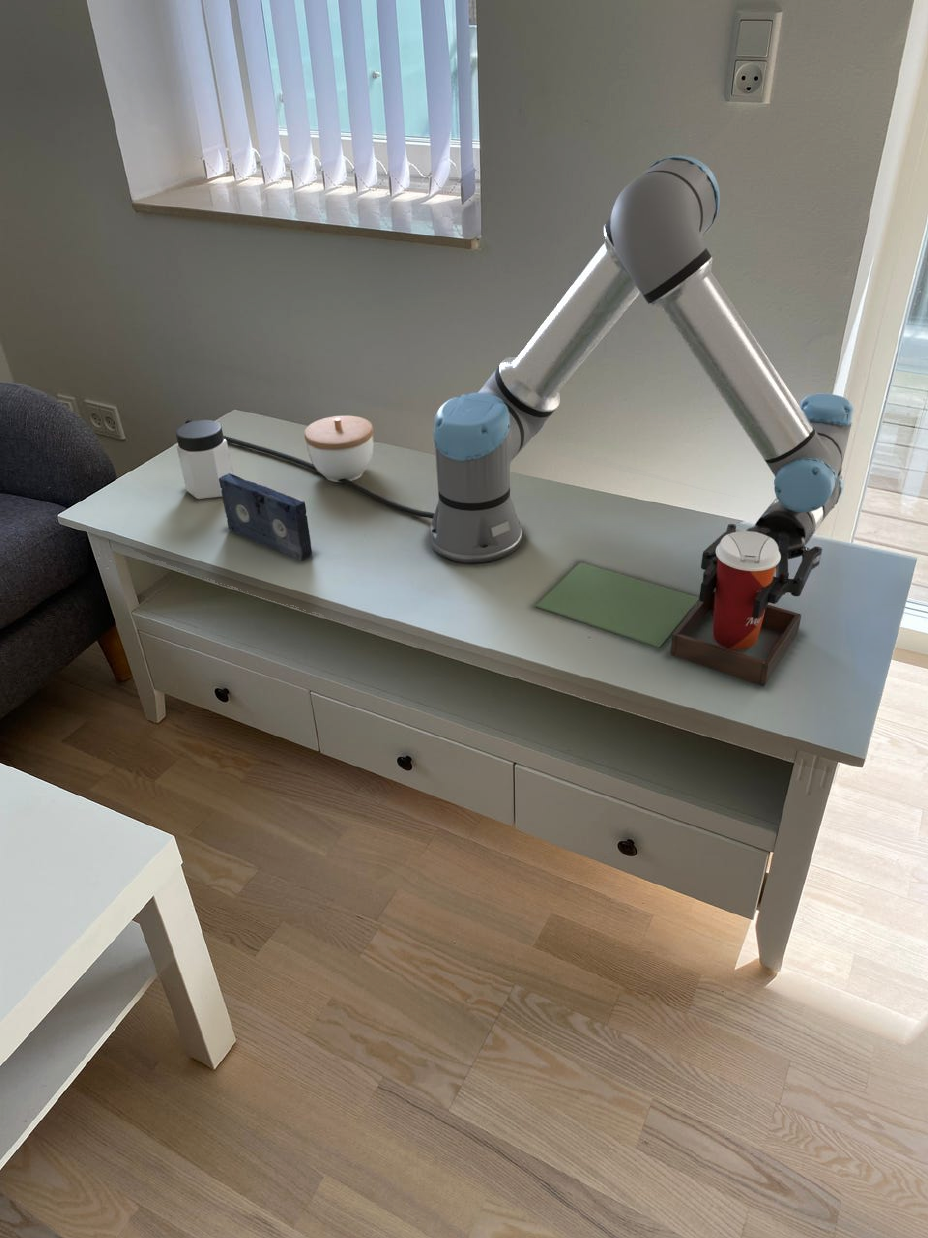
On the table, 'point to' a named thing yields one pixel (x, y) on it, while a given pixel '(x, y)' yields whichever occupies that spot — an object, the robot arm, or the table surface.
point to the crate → (727, 658)
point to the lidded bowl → (340, 446)
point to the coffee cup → (741, 586)
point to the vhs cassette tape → (266, 516)
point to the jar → (203, 457)
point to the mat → (619, 604)
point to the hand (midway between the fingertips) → (729, 600)
